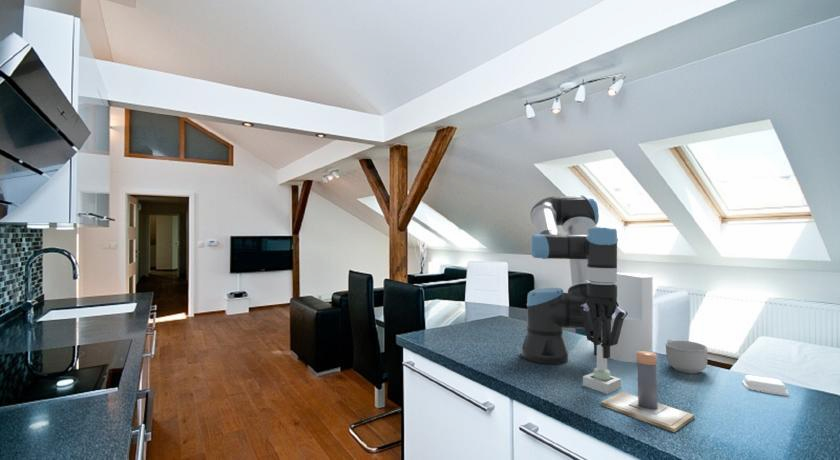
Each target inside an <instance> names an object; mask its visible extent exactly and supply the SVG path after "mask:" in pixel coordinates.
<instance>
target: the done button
mask: <svg viewBox="0 0 840 460" xmlns="http://www.w3.org/2000/svg"><path fill="white" fill-rule="evenodd" d="M593 372H594V378H595V379H598V380H601V381H604V382H607V381H609V380H610V376H611V370H609V369H608V368H607V369H605V370H603V371H601V370H598V369H597V367H595V368H593Z"/></svg>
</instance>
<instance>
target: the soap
mask: <svg viewBox="0 0 840 460" xmlns="http://www.w3.org/2000/svg"><path fill="white" fill-rule="evenodd" d="M741 381H742V385H743V387H744V388H745V389H746V388H747V389H746V390H749V389H751V390H750V391H754V390H756V391H755V392H760V391H761V392H762V393H766V394H774V395H778V396H779V395H780V396H787V397H788V396H789V392H788V390H787V387H786V385H785V384H784V383H783V382H782V381H781V380H780V379H778V378H771V377H763V376H758V375H750V374H748V375H747V374H744V379H742V380H741ZM761 392H760V393H761Z"/></svg>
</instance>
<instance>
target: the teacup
mask: <svg viewBox="0 0 840 460" xmlns="http://www.w3.org/2000/svg"><path fill="white" fill-rule="evenodd" d="M664 344H665V345H664V346H665V353H666V360H667V363H668V364H669V365H670V366H671V367H672V368H673V369H674V370H676V371H678V372H680V373H686V374H698V373H701V371H704V370H705V369H706V368H707V366H708V347H707V346H706V345H705V344H702V343H699V342H694V341H690V340H675V339H673V338H672V339H668V340H667V341H666V342H665V343H664Z"/></svg>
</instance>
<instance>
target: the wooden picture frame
mask: <svg viewBox="0 0 840 460" xmlns="http://www.w3.org/2000/svg"><path fill="white" fill-rule="evenodd" d="M600 406H602V407H605V408H608V409H610V410H613V411H616V412H618V413H621V414H623V415H626V416H629V417H631V418H634V419H637V420H639V421H642V422H646V423H647V424H650V425H653V426H656V427H659V428H661V429H664V430H667V431H669V432H673V433H676V432H678V430H680V429H682V428H683V427H685V426H686V425H687V424H689V423H690V422H692V421H693V420H695V414H694V413H690V412H687V411H684V410H681V409H678V408H675V407H671V406H668V405H666V404H663V403H659V402H658V408H657V409H647V408H643V407H641V406H639V405H638V395H634V394H632V393H629V392H626V391H621V392H619V393H617V394H614V395H612V396H610V397H608V398H606V399H604V400H602V401H600Z"/></svg>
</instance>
